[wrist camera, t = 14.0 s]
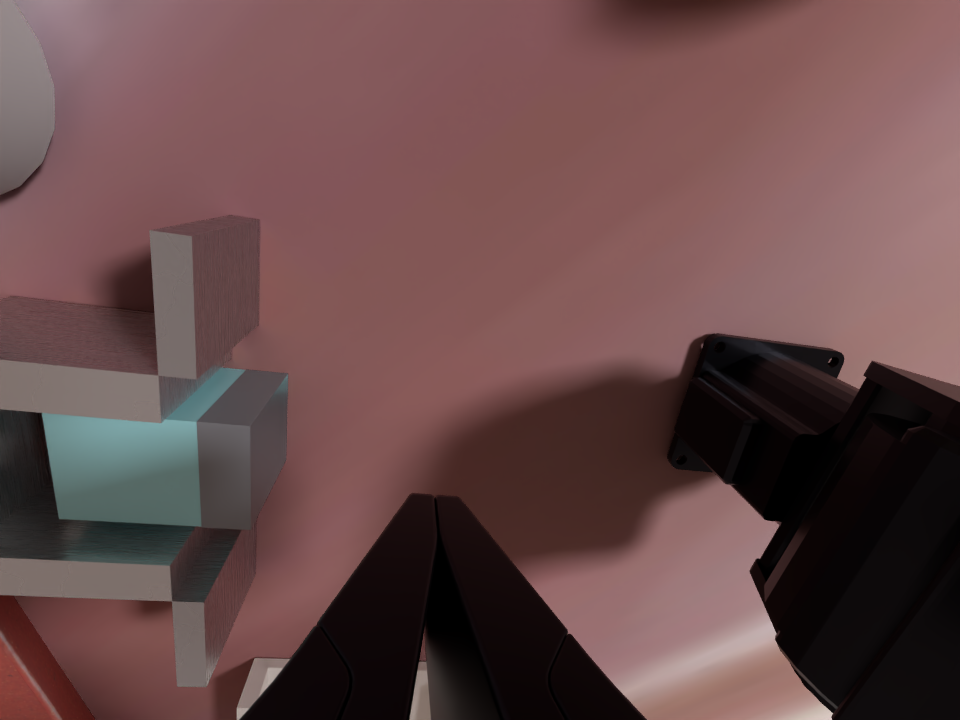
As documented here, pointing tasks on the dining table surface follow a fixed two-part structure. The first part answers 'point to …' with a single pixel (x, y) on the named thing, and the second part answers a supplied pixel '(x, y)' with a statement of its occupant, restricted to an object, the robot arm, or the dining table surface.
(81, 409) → the bracket
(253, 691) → the white flat channel piece
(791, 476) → the robot arm
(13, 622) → the plant saucer
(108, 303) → the dining table surface
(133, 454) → the plug
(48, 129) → the can
